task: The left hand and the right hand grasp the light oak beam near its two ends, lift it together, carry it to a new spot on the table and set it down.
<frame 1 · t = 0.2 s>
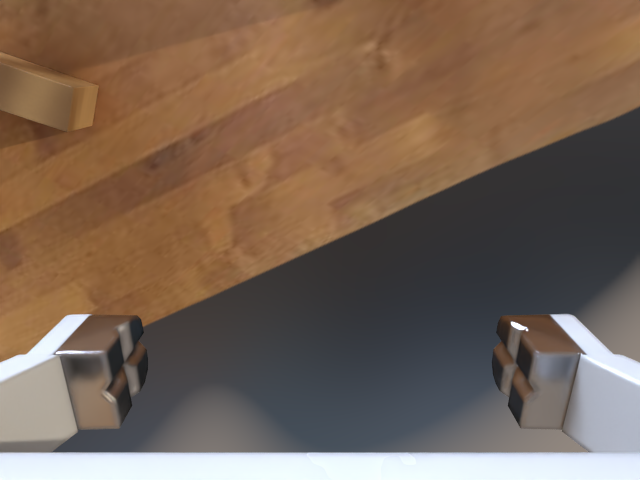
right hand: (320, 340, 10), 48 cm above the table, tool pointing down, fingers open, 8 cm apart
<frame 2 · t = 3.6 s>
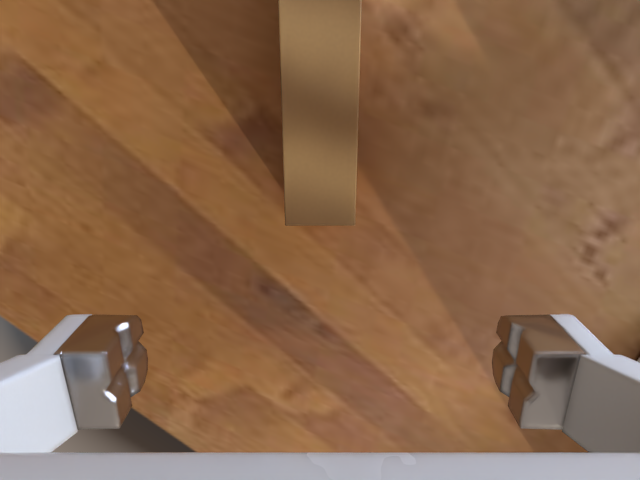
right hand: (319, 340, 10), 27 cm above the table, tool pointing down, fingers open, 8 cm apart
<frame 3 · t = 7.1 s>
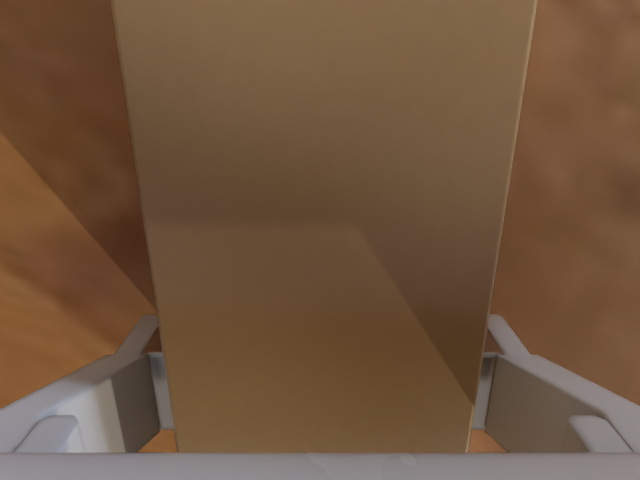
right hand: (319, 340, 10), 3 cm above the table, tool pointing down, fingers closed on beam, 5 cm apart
when the left hand's fingers open (5 cm above the table, at t = 13.2 s): beam drops 2 cm, on the table.
when the right hand's fingers open (4 cm above the table, at t = 13.2 s): beam drops 2 cm, on the table.
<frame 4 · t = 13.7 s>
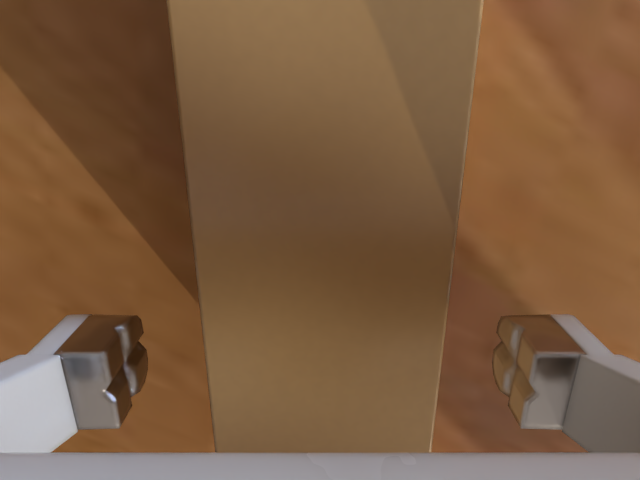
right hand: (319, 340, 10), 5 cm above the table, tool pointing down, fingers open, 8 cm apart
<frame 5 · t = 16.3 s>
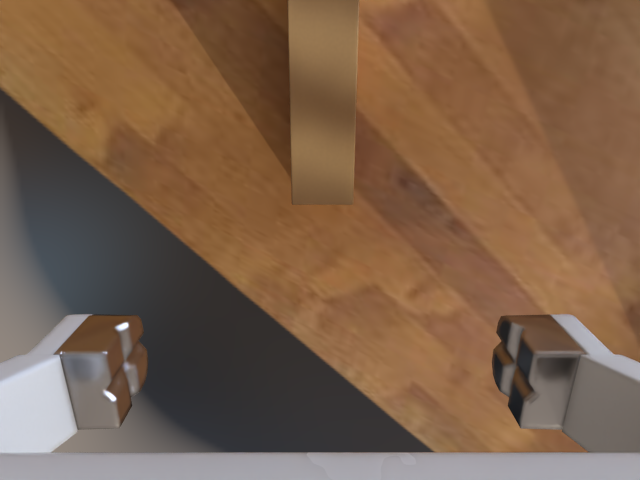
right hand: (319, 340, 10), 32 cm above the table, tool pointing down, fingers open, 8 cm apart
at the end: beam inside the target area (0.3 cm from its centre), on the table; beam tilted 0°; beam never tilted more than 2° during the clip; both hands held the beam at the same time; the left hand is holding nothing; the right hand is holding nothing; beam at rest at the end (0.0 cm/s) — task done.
